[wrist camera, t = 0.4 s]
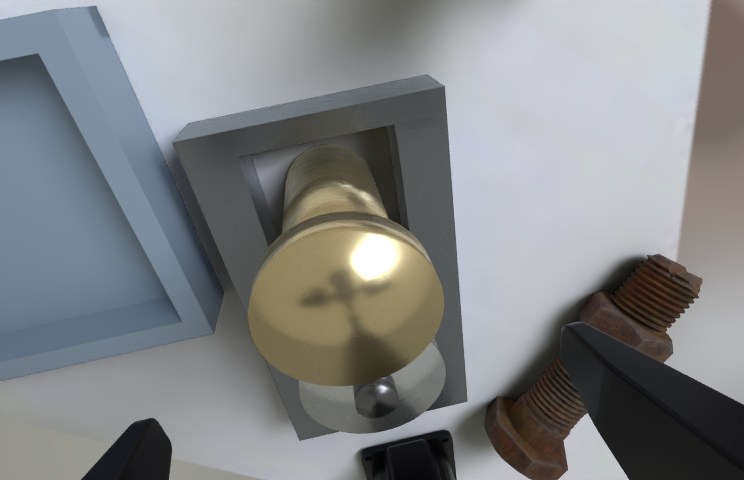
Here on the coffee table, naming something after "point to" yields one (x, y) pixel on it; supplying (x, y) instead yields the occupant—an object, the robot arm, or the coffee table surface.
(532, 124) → the coffee table surface
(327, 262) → the pin
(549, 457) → the bolt
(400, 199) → the block
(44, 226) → the tray
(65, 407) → the coffee table surface
